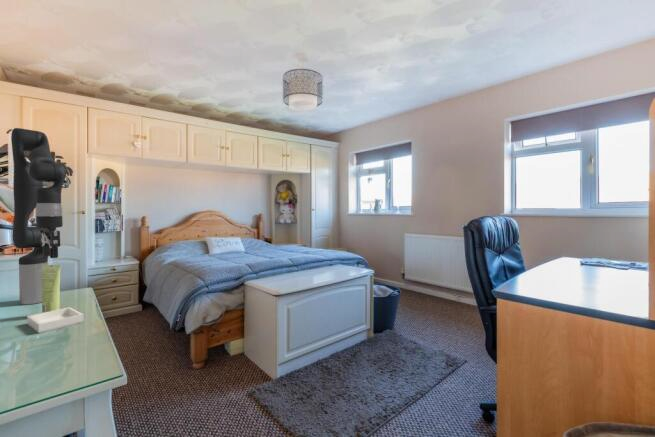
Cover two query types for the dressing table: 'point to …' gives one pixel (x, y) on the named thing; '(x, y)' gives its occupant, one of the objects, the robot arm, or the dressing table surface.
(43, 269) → the tube
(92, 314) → the dressing table surface
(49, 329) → the tray
